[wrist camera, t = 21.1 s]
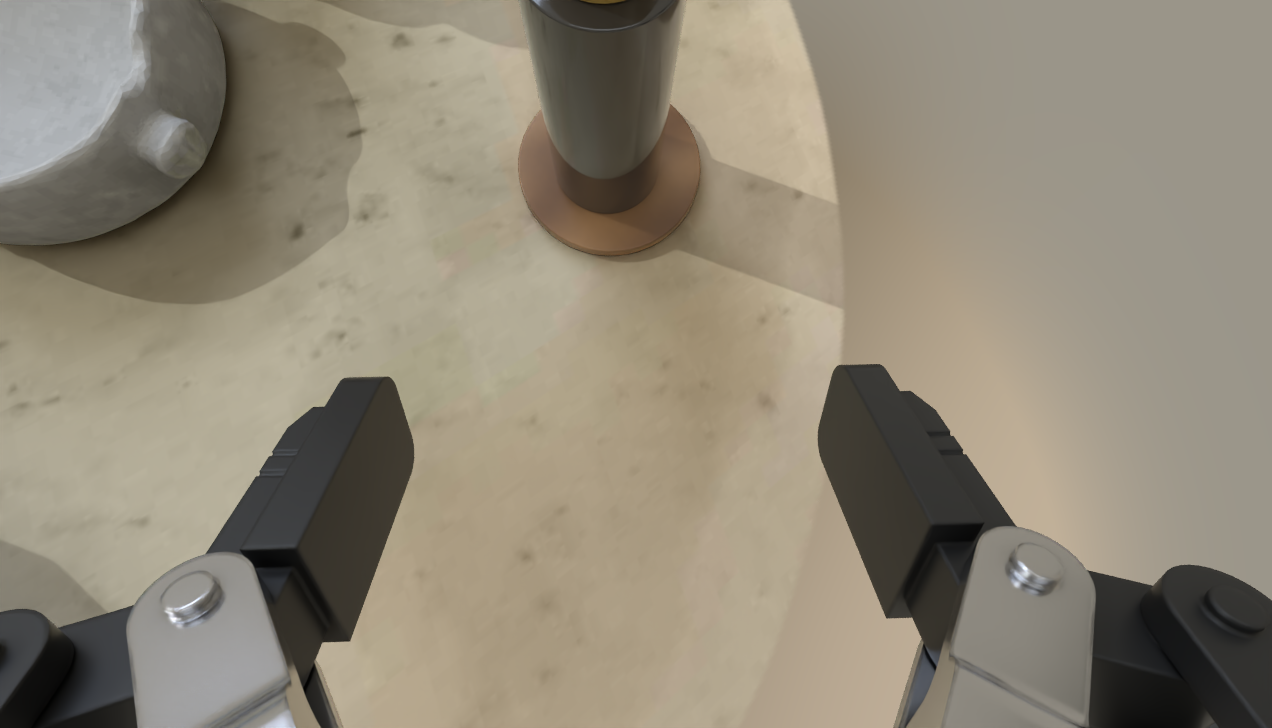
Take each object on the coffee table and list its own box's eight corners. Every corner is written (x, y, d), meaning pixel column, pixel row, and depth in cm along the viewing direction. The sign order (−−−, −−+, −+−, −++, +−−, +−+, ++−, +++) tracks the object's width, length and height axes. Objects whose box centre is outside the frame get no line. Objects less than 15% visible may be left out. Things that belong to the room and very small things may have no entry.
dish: (-125, 243, 24) (-315, 190, 19) (-39, -47, 26) (-191, -163, 21) (226, 275, 24) (128, 231, 20) (283, -15, 27) (207, -121, 22)
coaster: (734, 163, 26) (737, 156, 25) (619, 292, 25) (619, 288, 24) (601, 55, 27) (600, 46, 26) (482, 177, 26) (479, 171, 25)
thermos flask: (680, 160, 25) (739, -94, 14) (612, 235, 25) (610, 37, 13) (601, 96, 26) (591, -208, 14) (532, 168, 25) (458, -85, 13)
